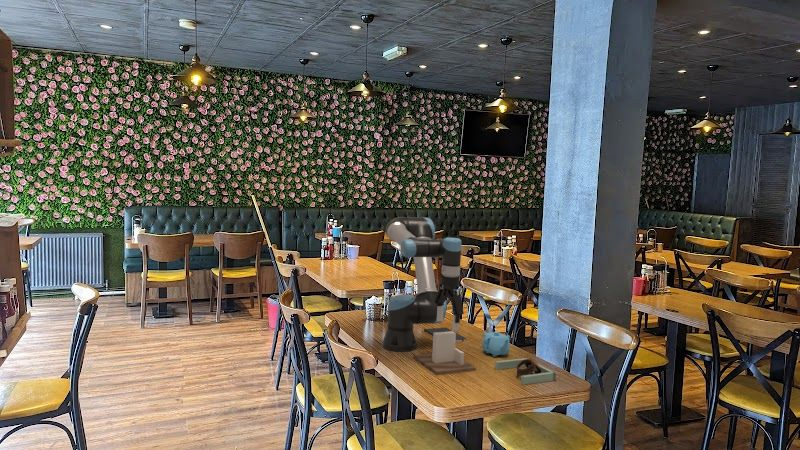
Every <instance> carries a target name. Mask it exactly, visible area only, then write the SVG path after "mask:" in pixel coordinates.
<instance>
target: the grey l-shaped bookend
mask: <svg viewBox="0 0 800 450" xmlns="http://www.w3.org/2000/svg"><path fill="white" fill-rule="evenodd" d="M455 332H456V331H454V332H453V330H452V331H449V332H436V333H433V336H432V352H431V353H432V361H433V362H434V363H442V362H452V361H455V362H457V363H458V364H460V365H464V361H465V352H464V351H462V350H461V349H458V348H457V347H456V342H455V341H456V333H457V332H456V333H455Z"/></svg>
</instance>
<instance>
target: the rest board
mask: <svg viewBox="0 0 800 450" xmlns="http://www.w3.org/2000/svg"><path fill="white" fill-rule="evenodd" d="M412 359H414V360H415V361H416V362H418V363H419V364H420V365H422V366H424V368H426V369H427V370H429V371H431V372H432V373H434V374H435V375H436V376H440V375H448V374H456V373H458V374H459V373H463V372H464V373H465V372H473V371H474V372H475V371H477V367H476V366H475V365H473V364H471V363H469V361H468V362H467V361H466V360H464V365H460V364H458V363H457V362H455V361H452V362H442V363H434V362H433V361H432V352H431V353H428V352H427V353H421V354H419V353H418V354H412Z"/></svg>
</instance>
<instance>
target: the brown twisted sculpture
mask: <svg viewBox="0 0 800 450" xmlns="http://www.w3.org/2000/svg"><path fill="white" fill-rule="evenodd" d="M523 364H525V365H526V367H525V368H521V367H520V366H521V365H523ZM538 364H539V363H537V362H536V361H534V360H533V359H532V358H527V359H524V360H522V361H521V362H519V363H518V364H517V366H518V367H516V375H517V377H521V376H524V375H532V373H533V372H534V374H540V373H541V369H540V367H539V365H540V364H539V365H538Z"/></svg>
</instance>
